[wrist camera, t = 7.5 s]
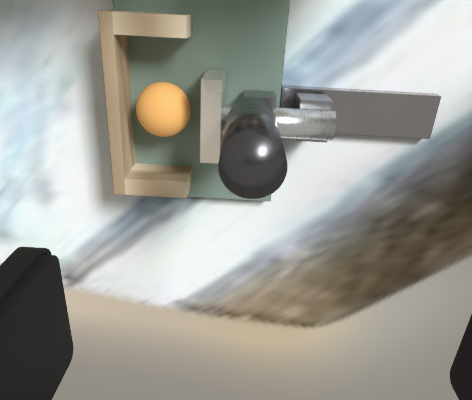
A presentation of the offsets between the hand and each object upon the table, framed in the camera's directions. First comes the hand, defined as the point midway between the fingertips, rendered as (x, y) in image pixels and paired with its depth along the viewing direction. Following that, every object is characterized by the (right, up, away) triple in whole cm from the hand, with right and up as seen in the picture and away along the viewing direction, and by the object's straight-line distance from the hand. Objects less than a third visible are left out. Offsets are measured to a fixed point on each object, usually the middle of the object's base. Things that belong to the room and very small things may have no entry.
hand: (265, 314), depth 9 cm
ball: (-5, +8, +17) cm, 20 cm away
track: (+8, +9, +20) cm, 23 cm away
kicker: (+1, +9, +19) cm, 21 cm away
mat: (-3, +10, +20) cm, 22 cm away
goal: (-6, +9, +19) cm, 22 cm away
